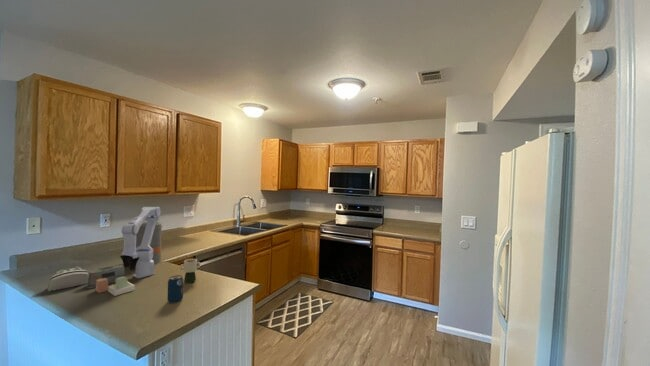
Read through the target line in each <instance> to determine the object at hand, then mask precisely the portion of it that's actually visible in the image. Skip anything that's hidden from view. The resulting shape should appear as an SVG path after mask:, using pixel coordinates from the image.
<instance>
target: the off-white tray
mask: <svg viewBox="0 0 650 366" xmlns="http://www.w3.org/2000/svg"><path fill="white" fill-rule="evenodd" d="M135 288H136V287H135V284H133V283H131V282H130V281H128V280H127V287H125V288H121V289H117V290H116V289H115V284H112V285H108V291H107V292H108V293H110V294H111V295H113V297H115V296H119V295H123V294H126V293H130V292H134V291H135Z"/></svg>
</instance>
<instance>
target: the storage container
mask: <svg viewBox="0 0 650 366" xmlns="http://www.w3.org/2000/svg"><path fill="white" fill-rule="evenodd" d="M143 221H144V222H143V224H142V225H141V226H140V227H139V230H138V233H137V234H136V248H137V247H139V246H140V245H141V242H142V239H143V235H144V232H145V228H146V225H147V221H145V220H143ZM130 222H131V221H129V222H128V223H127V224H129V223H130ZM162 229H163V225H162V222H161V221H160V220H158V221H156V225H155V228H154V232H153V236H152V240H151V243H150V247H151V248H153V250H154V251H153V258H152V259H151V260H153V261H154V266H155V265H157V263H158V264H160V263H161V262H162ZM159 262H160V263H159ZM135 269H136V267H135Z"/></svg>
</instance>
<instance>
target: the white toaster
mask: <svg viewBox="0 0 650 366" xmlns="http://www.w3.org/2000/svg"><path fill="white" fill-rule="evenodd" d="M72 270H83V269H82V268H81V266H80V267H79V266H78V265H76V266H75V267H73V268H69V267H67V269H63V268H62V269H60V270H59V271H58V270H57V271H56V274H59V273H63V272H67V271H72Z"/></svg>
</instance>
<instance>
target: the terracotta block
mask: <svg viewBox="0 0 650 366" xmlns="http://www.w3.org/2000/svg"><path fill="white" fill-rule="evenodd" d="M108 286H109V283H108V279H106V278H103V279H98V280H96V287H95V291H96V292H97V294H98V293H99V294H100V293H103V292H108Z"/></svg>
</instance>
